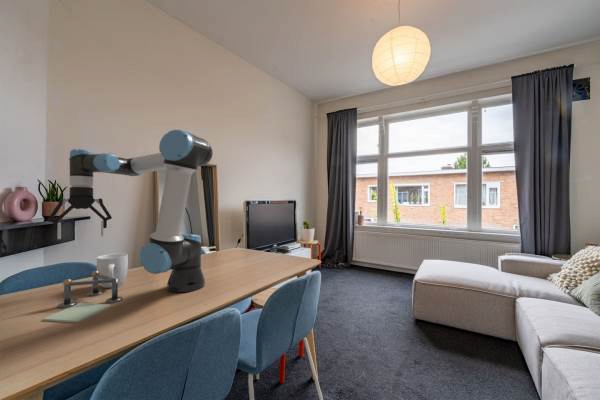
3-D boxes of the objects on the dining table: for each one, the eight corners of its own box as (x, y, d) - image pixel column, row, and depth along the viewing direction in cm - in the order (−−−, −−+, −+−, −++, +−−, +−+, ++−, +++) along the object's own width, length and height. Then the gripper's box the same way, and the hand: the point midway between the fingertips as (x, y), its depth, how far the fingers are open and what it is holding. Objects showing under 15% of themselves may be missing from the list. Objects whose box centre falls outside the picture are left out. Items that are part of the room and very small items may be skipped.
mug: (126, 289, 105) (127, 258, 106) (93, 294, 99) (93, 262, 99) (127, 280, 118) (128, 252, 118) (97, 284, 112) (98, 255, 112)
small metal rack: (135, 293, 101) (136, 270, 101) (100, 310, 85) (100, 283, 85) (95, 291, 103) (95, 268, 103) (53, 307, 87) (53, 280, 87)
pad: (110, 306, 89) (110, 304, 89) (77, 322, 77) (77, 320, 77) (80, 304, 90) (80, 303, 90) (42, 320, 78) (42, 318, 78)
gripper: (117, 188, 116) (117, 233, 116) (40, 186, 100) (40, 239, 100) (118, 187, 110) (118, 235, 110) (37, 185, 94) (37, 241, 94)
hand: (81, 237), depth 105 cm, fingers open, 13 cm apart
